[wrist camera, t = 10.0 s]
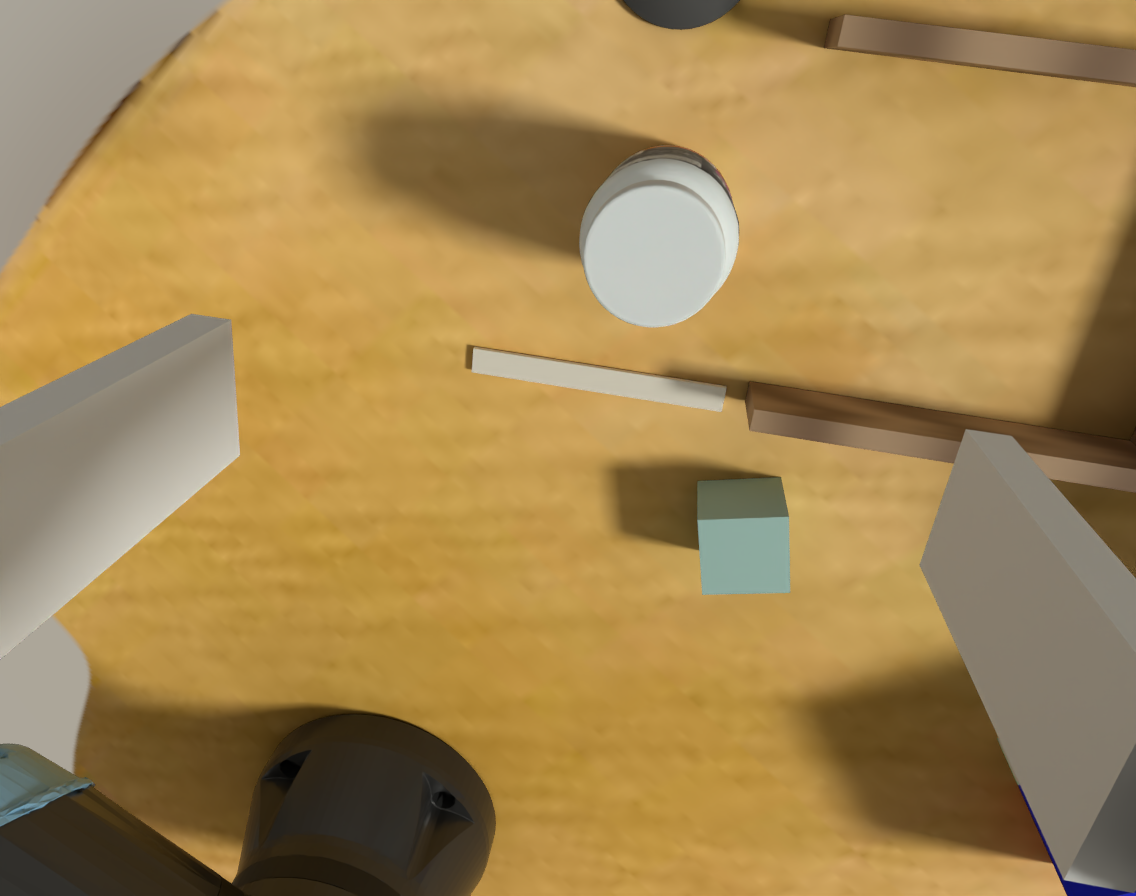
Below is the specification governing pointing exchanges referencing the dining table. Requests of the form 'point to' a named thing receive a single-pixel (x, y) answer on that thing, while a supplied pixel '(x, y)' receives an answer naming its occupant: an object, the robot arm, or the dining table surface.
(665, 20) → the drain disc
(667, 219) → the pill bottle
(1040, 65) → the cubby
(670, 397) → the strip
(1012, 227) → the dining table surface
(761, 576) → the teal block
